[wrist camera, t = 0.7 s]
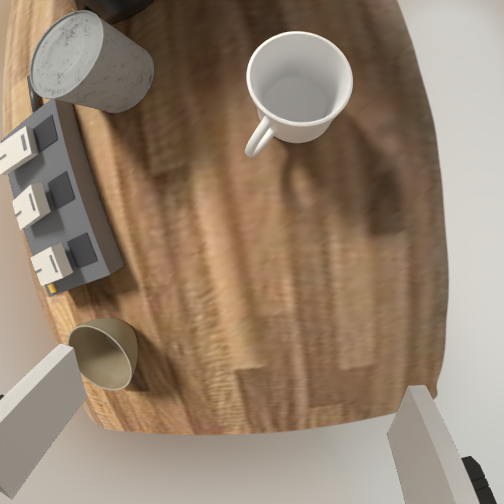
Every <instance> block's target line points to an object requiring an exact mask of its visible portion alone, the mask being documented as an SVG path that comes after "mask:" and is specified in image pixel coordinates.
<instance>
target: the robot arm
mask: <svg viewBox="0 0 504 504" xmlns="http://www.w3.org/2000/svg"><path fill="white" fill-rule="evenodd" d="M69 1H70V3H71V5H72V6H73V8H74V10H75V11H80V10H86V11H91V12H93V13H95V14H97V15H98V16H99V18H101V19H102V20H104V21H105V22H107V23H108V24H111V23H115V22H119V21H122V20H124V19H127V18H129V17H131V16H133V15H134V14H136V13H138V12H139V11H141V10H142V9H144V8H145V7H147V6H148V5H149V4H150V3H151V2H153V1H154V0H69ZM86 398H87V394H86V391H85V388H84V385H83V381H82V378H81V374H80V371H79V367H78V363H77V359H76V355H75V351H74V348H73V347H70V346H66V345H63V344H59V345H58V346H57V347H56V348H55V349H53V351H51V352H50V353H49V354H48V355H47V356H46V357H45V358H44V359H43V360H42V361H41V362H39V363H38V364H37V365H36V366H35V367H34V368H33V369H32V370H31V371H30V372H29V373H28V374H27V375H26V376H25V377H24V378H22V379H21V380H20V381H19V382H18V383H17V384H16V385H15V386H14V387H13V388H12V389H11V390H10V391H9V392H8V393H7V394H6V395H5V396H4V395H0V492H2V493H3V494H5V495H6V496H8V497H9V498H11V499H13V498H14V496H15V495H16V494H17V492H18V491H19V489H20V488H21V486H22V485H23V483H24V482H25V481H26V479H27V478H28V476H29V475H30V474H31V472H32V471H33V469H34V468H35V466H36V465H37V464H38V462H39V461H40V460H41V458H42V457H43V455H44V454H45V453H46V451H47V450H48V449H49V447H50V446H51V445H52V443H53V442H54V441H55V439H56V438H57V436H58V435H59V434H60V432H61V431H62V430H63V428H64V427H65V425H66V424H67V423H68V422H69V420H70V419H71V418H72V416H73V415H74V414H75V412H76V411H77V410H78V408H79V407H80V406H81V405H82V403H83V402H84V401H85V399H86ZM387 436H388V439H389V443H390V446H391V450H392V453H393V457H394V460H395V464H396V468H397V472H398V476H399V480H400V484H401V488H402V491H403V495H404V500H405V504H497V503H496V501H495V498H494V496H493V493H492V491H491V489H490V487H488V486H489V484H488V482H487V480H486V479H485V475H484V473H483V471H482V469H481V466H480V465H479V464H478V463H477V462H476V461H475V460H474V459H473V458H472V457H471V456H468V457H464V458H460V455H459V453H458V451H457V449H456V447H455V444H454V442H453V440H452V438H451V436H450V434H449V432H448V430H447V427H446V425H445V423H444V421H443V419H442V417H441V415H440V413H439V411H438V409H437V407H436V405H435V403H434V401H433V399H432V397H431V395H430V393H429V391H428V389H427V387H426V385H416V386H408V388H407V390H406V393H405V395H404V397H403V400H402V402H401V405H400V407H399V409H398V412H397V414H396V416H395V418H394V421H393V423H392V425H391V427H390V429H389V431H388V433H387Z"/></svg>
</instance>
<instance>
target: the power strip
mask: <svg viewBox="0 0 504 504" xmlns="http://www.w3.org/2000/svg"><path fill="white" fill-rule="evenodd" d="M27 80H28V87H29V94H30V100H31V105H32V111H33V114H32V115H31V116H29V117H28V118H27V119H26V120H25V121H23V122H22V123H21V124H20V125H19V126H18V127H16V128H15V129H14V130H13V131H12V132H11V133H10V134H9V135H7V136H6V137H5V138H4V139H3V140H2V141H1V143H2V142H3V141H5V140H6V139H8V138H9V137H10V136H12V135H13V134H15V133H16V132H18V131H19V130H20V129H22V128H23V127H25V126H27V127H31V128H33V133H34V137H35V142H36V146H37V150H38V154H39V155H37V156H35V157H34V158H32V159H31V160H29V161H27V162H26V163H24V164H23V165H21V166H20V167H18V168H17V169H15V170H14V171H12V172H11V173H9V174H8V176H9V181H10V185H11V188H12V192H13V196H14V200H15V199H16V198H17V197H18V196H19V195H20V194H21V193H22V192H23V191H24V190H25V189H26V188H27V187H29V186H30V185H31V184H35V183H39V182H42V185H43V189H44V192H45V195H46V199H47V202H48V205H49V208H50V211H51V212H50V213H48V214H47V215H45V216H44V217H43V218H41V219H40V220H38V221H37V222H36V223H34V224H33V225H31V226H30V227H27V228H24V232H25V235H26V238H27V241H28V244H29V247H30V249H31V252H32V255H33V256H35V255H37V254H38V253H40V252H42V251H44V250H46V249H47V248H49V247H51V246H53V245H56V244H58V243H62V245H63V248H64V251H65V253H66V256H67V258H68V261H69V263H70V266H71V268H72V271H73V273H71V274H69V275H68V276H66V277H64V278H61V279H59V280H56V281H53V282H51V283H48V284H45V287H46V290H47V292H48V294H49V296H50V297H51V296H54V295H56V294H59V293H62V292H64V291H67V290H70V289H73V288H75V287H78V286H81V285H83V284H86V283H89V282H92V281H94V280H97V279H100V278H103V277H106V276H108V275H111V274H112V273H114V272H115V271H117V270H118V269H120V268H121V267H123V266H125V264H124V261H123V259H122V256H121V254H120V252H119V249H118V246H117V244H116V241H115V239H114V236H113V233H112V231H111V228H110V225H109V223H108V220H107V217H106V214H105V212H104V209H103V206H102V203H101V200H100V197H99V194H98V191H97V188H96V185H95V182H94V179H93V176H92V173H91V170H90V166H89V163H88V160H87V156H86V153H85V149H84V146H83V142H82V139H81V135H80V131H79V128H78V124H77V120H76V116H75V112H74V108H73V104H72V103H69V102H64V101H60V100H55V99H51V100H49V101H48V102H47V103H46V104H44V105H43V106H42V107H40V106H39V101H38V95H37V93H36V92H35V91H34V89H33V87H32V85H31V81H30V75H29V76H28V77H27Z"/></svg>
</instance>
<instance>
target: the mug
mask: <svg viewBox="0 0 504 504" xmlns="http://www.w3.org/2000/svg"><path fill="white" fill-rule="evenodd" d="M247 85H248V89H249V92H250V95H251V97H252V99H253V101H254V103H255V105H256V107H257V112H258V116H259V119H260V121H261V123H260V124H259V126H258V127H257V129H256V130H255V132H254V133H253V135H252V137H251V138H250V140H249V142H248V144H247V146H246V149H245V154H246V155H247V156H248V157H251V158H252V157H254V156H256V155H257V154H258V153H259V152H260V151H261V150H262V149H263V148H264V147H265V146H266V145H267V143H268V142H269V141H270V140H271V139H272V138H273V136H275V137H276V138H278V139H280V140H283V141H286V142H290V143H304V142H308V141H311V140H314V139H316V138H318V137H319V136H320V135H322V134H323V133H324V132H325V131H326V130H327V129H328V127H329V126H330V124H331V122H332V120H333V119H334V118H335V117H336V116H337V115H338V114H339V113H340V112H341V111H342V110H343V108H344V107H345V106H346V104H347V102H348V101H349V98H350V96H351V93H352V88H353V76H352V71H351V68H350V65H349V63H348V61H347V59H346V57H345V56H344V54H343V53H342V52H341V51H340V50H339V48H337V47H336V46H335V45H334V44H333V43H331V42H330V41H328V40H327V39H325V38H323V37H321V36H318V35H316V34H312V33H308V32H286V33H282V34H279V35H276V36H274V37H272V38H270V39H268V40H267V41H265V42H264V43H263V44H261V45H260V46H259V47H258V48H257V50H256V51H255V52H254V54H253V55H252V57H251V59H250V61H249V64H248V68H247Z"/></svg>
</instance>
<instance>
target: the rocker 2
mask: <svg viewBox="0 0 504 504" xmlns="http://www.w3.org/2000/svg"><path fill="white" fill-rule="evenodd" d="M12 204H13V207H14V211H15V214H16V217H17V220H18V224H19V227H20V230H21V229H24V228H27V227H30V226H31V225H33V224H34V223H36V222H37V221H38V220H40V219H41V218H43V217H44V216H45V215H47V214H48V213H50V212H51V211H50V208H49V205H48V202H47V199H46V195H45V192H44V189H43V185H42V182H39V183H35V184H31V185H30V186H29V187H27V188H26V189H25V190H24V191H23V192H22V193H21V194H20V195H19V196H18V197H17V198H16V199H15V200H14V201H13V202H12Z"/></svg>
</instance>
